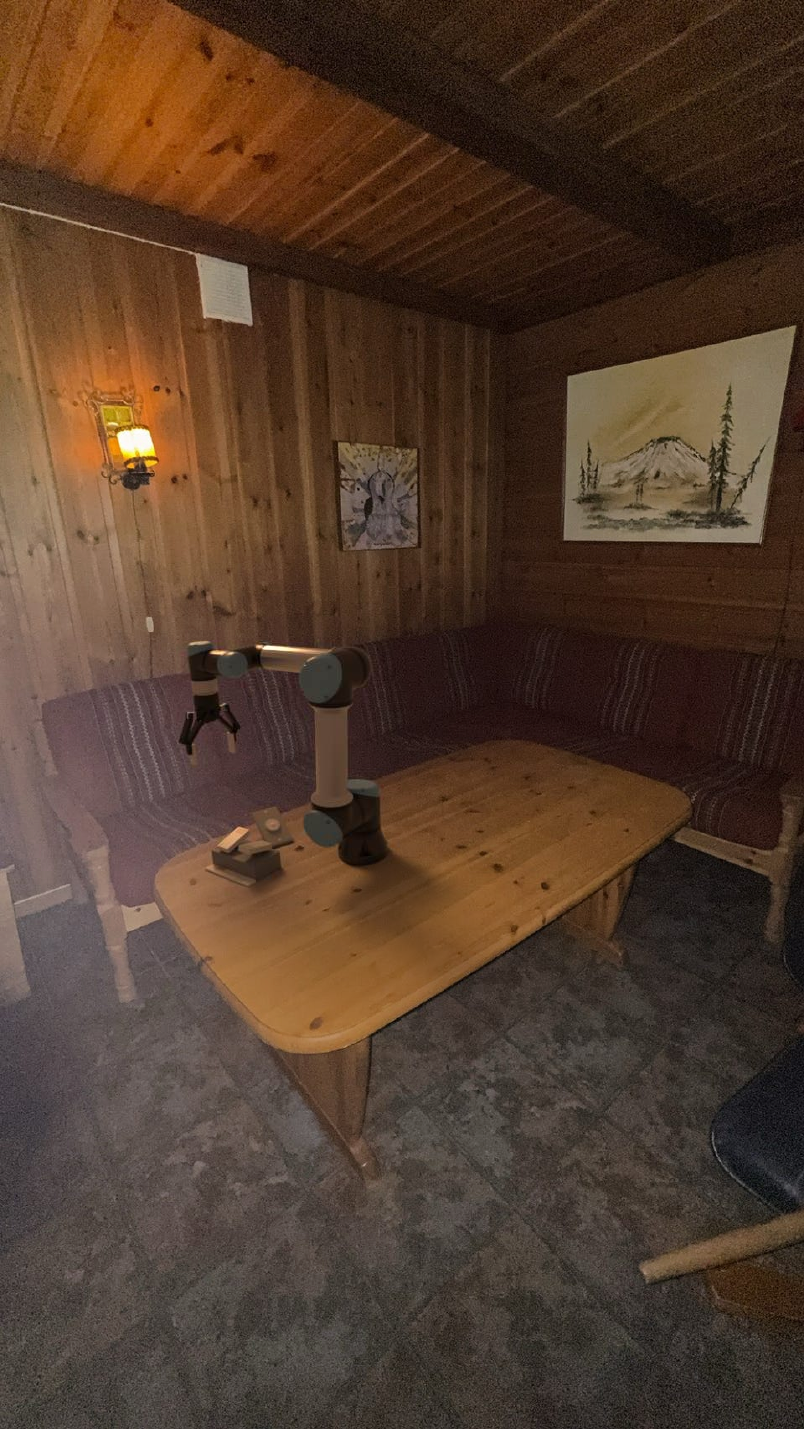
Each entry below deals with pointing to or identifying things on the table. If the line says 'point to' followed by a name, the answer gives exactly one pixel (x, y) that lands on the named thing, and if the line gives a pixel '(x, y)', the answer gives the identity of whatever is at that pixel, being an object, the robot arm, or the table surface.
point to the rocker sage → (255, 847)
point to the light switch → (272, 827)
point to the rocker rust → (233, 839)
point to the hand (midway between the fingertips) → (213, 758)
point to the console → (244, 864)
